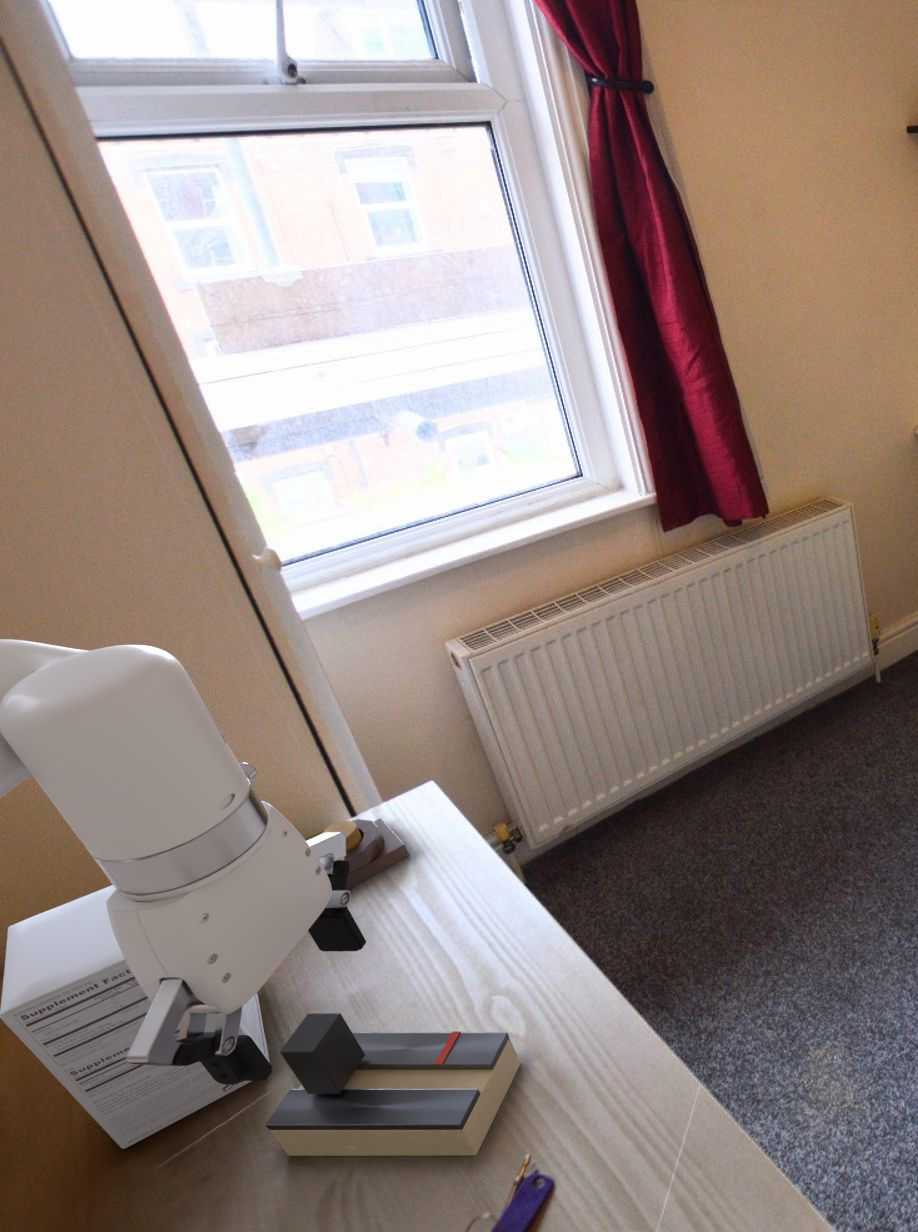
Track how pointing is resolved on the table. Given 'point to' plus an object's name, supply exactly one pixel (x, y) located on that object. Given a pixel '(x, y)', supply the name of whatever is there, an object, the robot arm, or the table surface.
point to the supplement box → (100, 1021)
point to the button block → (373, 851)
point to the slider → (323, 1053)
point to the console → (404, 1098)
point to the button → (347, 833)
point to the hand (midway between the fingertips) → (299, 1007)
